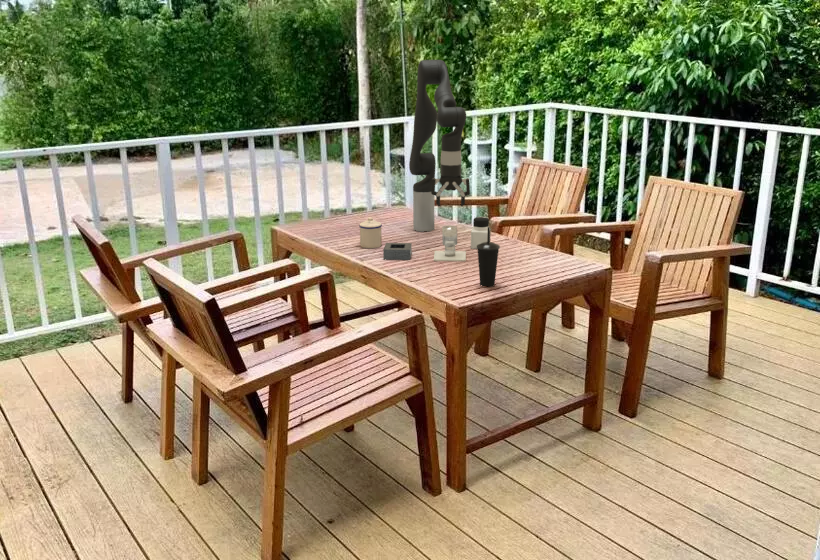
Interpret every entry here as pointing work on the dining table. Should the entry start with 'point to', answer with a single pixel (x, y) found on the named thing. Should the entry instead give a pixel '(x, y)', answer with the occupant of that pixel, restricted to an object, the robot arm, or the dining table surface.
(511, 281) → the dining table surface
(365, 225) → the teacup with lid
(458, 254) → the pad
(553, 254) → the dining table surface
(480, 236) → the medicine bottle
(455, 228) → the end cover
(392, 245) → the housing
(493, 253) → the drinking cup
